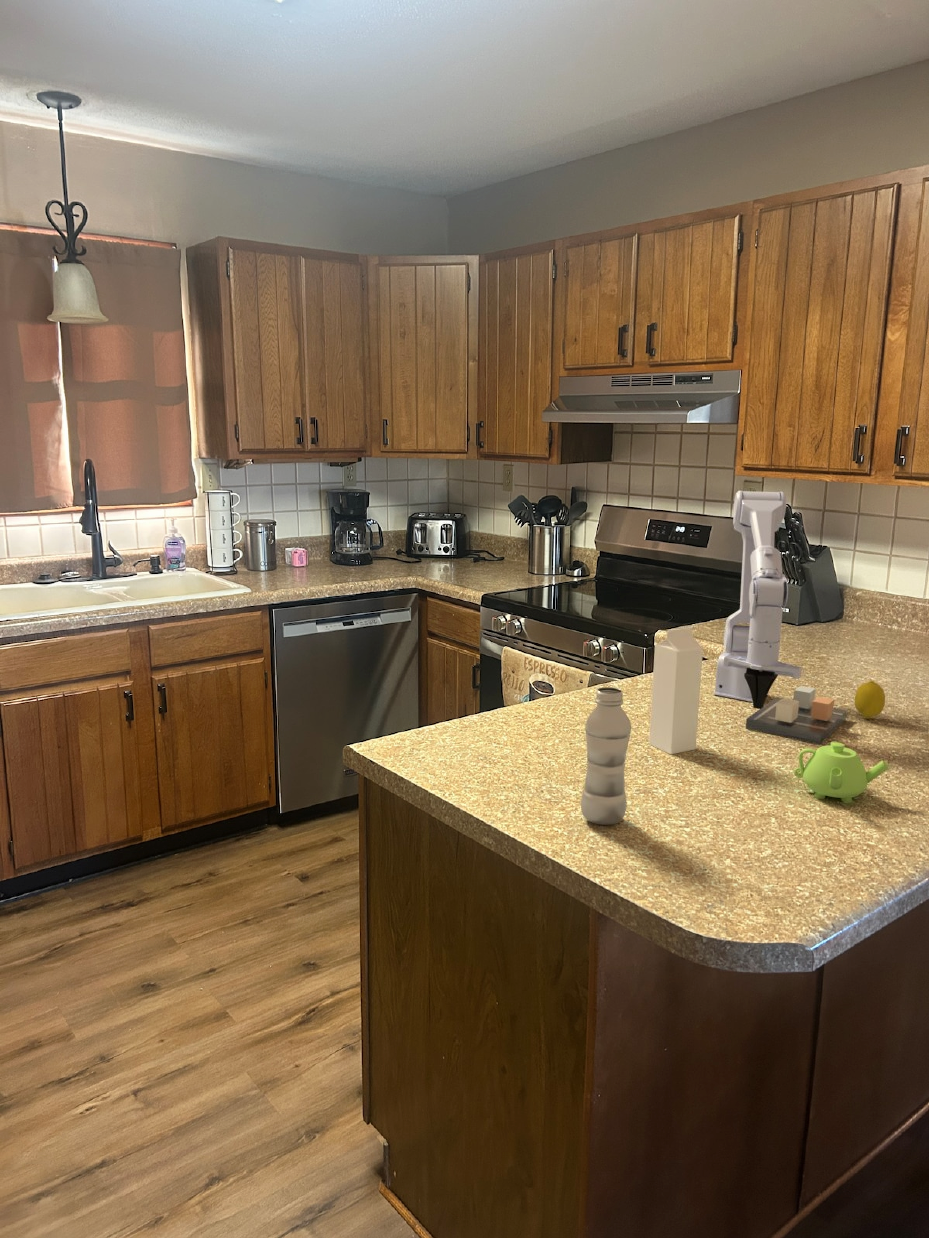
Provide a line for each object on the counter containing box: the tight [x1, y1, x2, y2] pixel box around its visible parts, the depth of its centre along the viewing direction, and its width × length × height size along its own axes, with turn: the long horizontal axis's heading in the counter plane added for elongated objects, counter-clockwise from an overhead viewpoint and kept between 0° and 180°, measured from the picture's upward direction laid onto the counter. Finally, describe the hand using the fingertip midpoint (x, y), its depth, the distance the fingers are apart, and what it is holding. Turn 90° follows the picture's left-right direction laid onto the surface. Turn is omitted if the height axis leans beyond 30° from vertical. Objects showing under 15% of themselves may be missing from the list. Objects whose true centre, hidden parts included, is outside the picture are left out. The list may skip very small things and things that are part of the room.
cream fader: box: [775, 698, 799, 723], centre depth 173 cm, size 3×4×3 cm
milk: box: [648, 627, 704, 755], centre depth 162 cm, size 6×6×22 cm
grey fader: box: [793, 685, 816, 709], centre depth 182 cm, size 3×4×3 cm
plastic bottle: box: [580, 686, 632, 826], centre depth 131 cm, size 6×7×20 cm
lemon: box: [854, 680, 886, 720], centre depth 181 cm, size 6×6×8 cm
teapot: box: [793, 741, 890, 804], centre depth 144 cm, size 11×12×8 cm
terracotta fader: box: [811, 696, 835, 721], centre depth 175 cm, size 3×4×3 cm
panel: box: [745, 697, 848, 745], centre depth 178 cm, size 14×18×2 cm
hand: (758, 707), depth 177 cm, fingers closed
